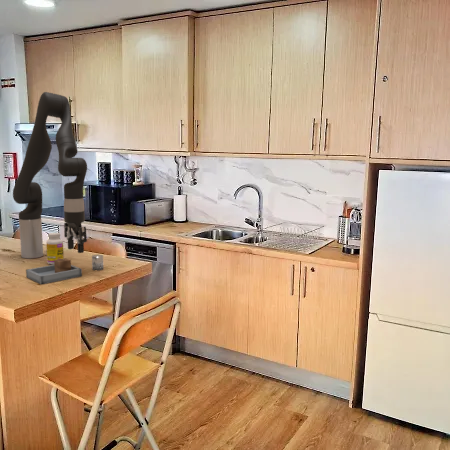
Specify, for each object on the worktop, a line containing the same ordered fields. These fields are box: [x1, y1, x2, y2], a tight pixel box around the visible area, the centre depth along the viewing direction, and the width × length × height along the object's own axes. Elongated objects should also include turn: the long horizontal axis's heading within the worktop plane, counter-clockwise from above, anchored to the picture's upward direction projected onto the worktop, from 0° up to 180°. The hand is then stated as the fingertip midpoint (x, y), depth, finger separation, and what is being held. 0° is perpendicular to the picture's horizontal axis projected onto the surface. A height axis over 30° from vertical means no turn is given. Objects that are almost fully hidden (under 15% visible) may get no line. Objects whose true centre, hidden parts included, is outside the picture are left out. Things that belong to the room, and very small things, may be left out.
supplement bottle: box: [45, 232, 65, 265], centre depth 202 cm, size 7×7×13 cm
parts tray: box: [25, 264, 83, 285], centre depth 182 cm, size 13×16×3 cm
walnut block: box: [54, 257, 72, 273], centre depth 184 cm, size 4×4×5 cm
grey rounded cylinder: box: [91, 254, 104, 272], centre depth 193 cm, size 4×4×6 cm
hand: (75, 250), depth 186 cm, fingers open, 8 cm apart
